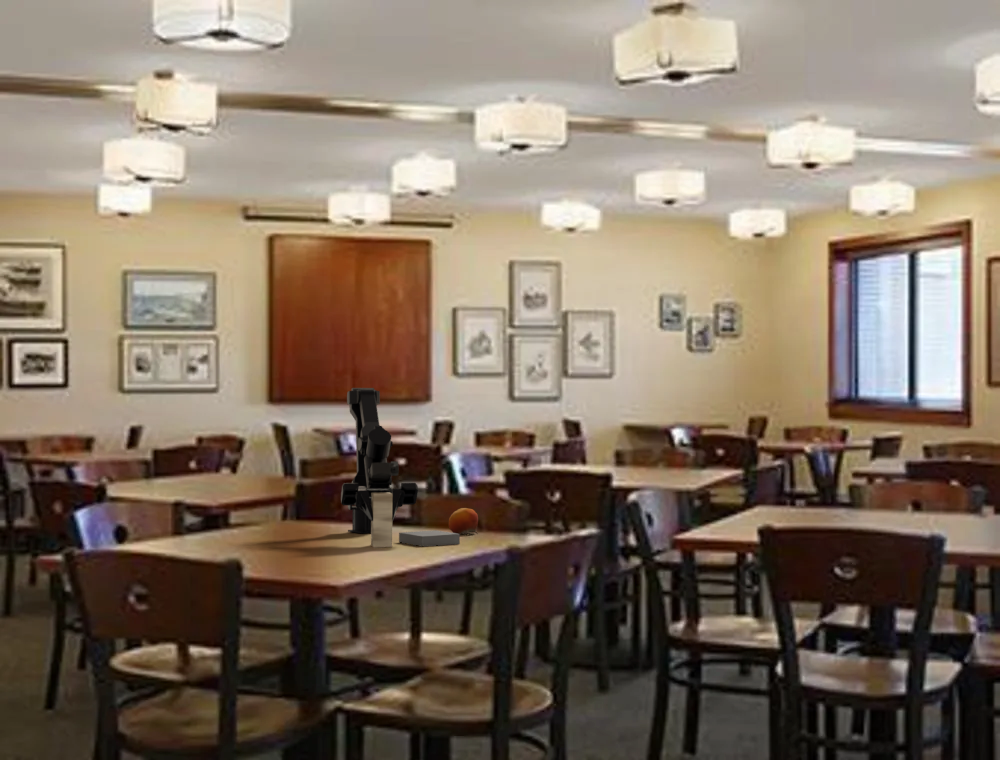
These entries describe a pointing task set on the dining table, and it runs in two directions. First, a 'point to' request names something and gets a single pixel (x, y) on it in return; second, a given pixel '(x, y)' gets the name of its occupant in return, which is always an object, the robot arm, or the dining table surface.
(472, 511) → the fruit
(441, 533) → the plinth
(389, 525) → the maple post
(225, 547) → the dining table surface
